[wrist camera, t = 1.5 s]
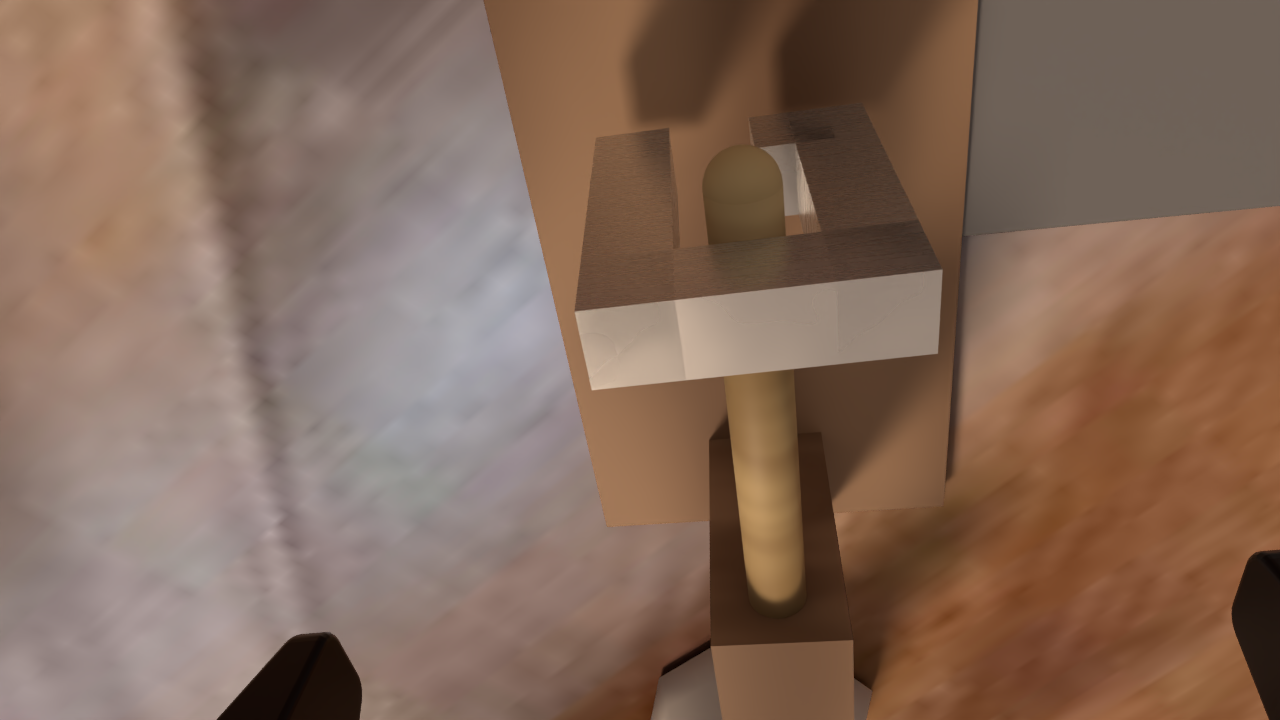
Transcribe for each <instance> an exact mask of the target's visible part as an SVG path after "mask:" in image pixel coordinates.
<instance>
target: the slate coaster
mask: <svg viewBox="0 0 1280 720" xmlns="http://www.w3.org/2000/svg"><path fill="white" fill-rule="evenodd" d="M1273 206H1280V0H978V9H977V24H976V39H975V53H974V68H973V83H972V97H971V112H970V126H969V141H968V156H967V170H966V185H965V200H964V214H963V229H962V236H971V235H981V234H992V233H1002V232H1013V231H1023V230H1033V229H1044V228H1054V227H1065V226H1075V225H1086V224H1096V223H1106V222H1117V221H1127V220H1138V219H1148V218H1158V217H1169V216H1179V215H1190V214H1200V213H1210V212H1221V211H1231V210H1242V209H1252V208H1262V207H1273Z"/></svg>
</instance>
